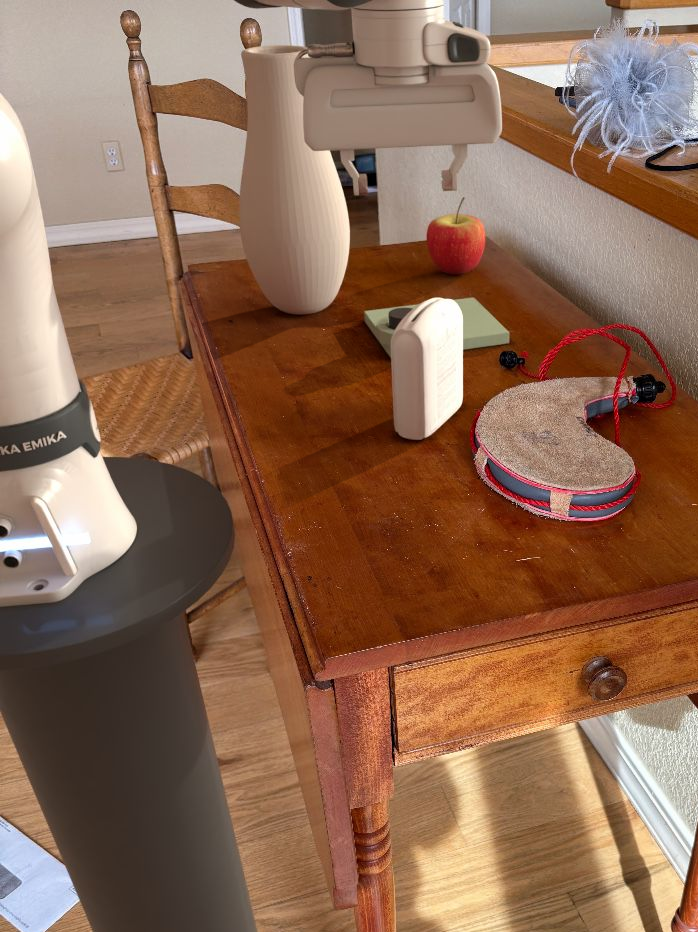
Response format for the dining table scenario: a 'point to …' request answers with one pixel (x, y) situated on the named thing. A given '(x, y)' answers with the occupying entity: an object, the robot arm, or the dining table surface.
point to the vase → (288, 192)
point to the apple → (456, 242)
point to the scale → (476, 325)
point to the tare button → (397, 316)
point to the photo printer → (427, 367)
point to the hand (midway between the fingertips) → (405, 191)
